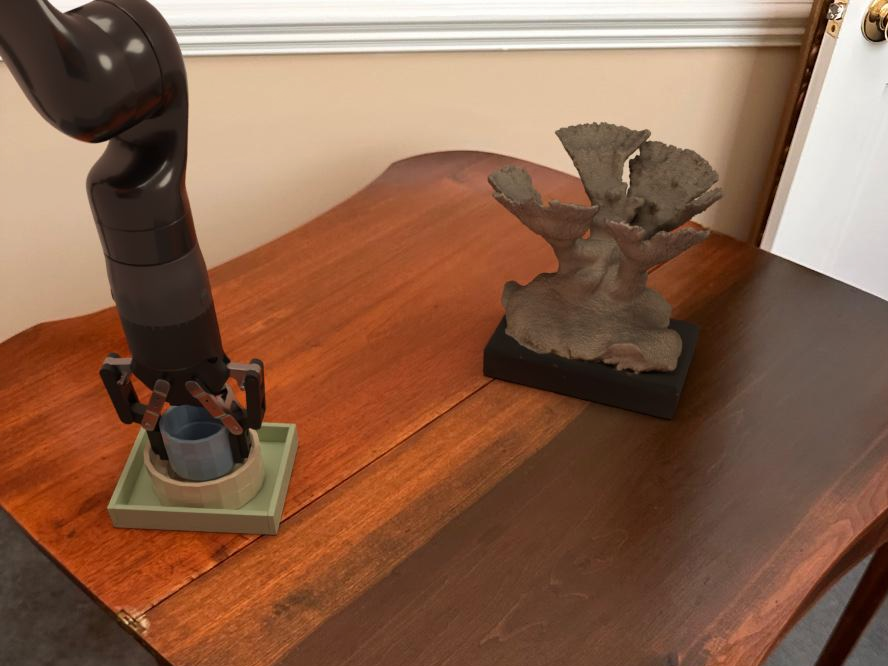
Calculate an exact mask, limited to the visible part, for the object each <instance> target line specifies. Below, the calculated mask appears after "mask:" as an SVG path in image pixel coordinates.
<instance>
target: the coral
mask: <svg viewBox="0 0 888 666" xmlns="http://www.w3.org/2000/svg"><path fill="white" fill-rule="evenodd" d="M554 135H556V137H557V138H558V140H559V141H560V143H561V145H562V146H563V149H564V151H565V152H566V153H567V155H568V156H569V158H570V160H571V161H572V165H573V167H574V168H575V169H576V171H577V174H578V176H579V178H580V181H581V183H582V185H583V189H584V193H585V194H586V196H587V198H588V200H589V202H590V206H587V205H582V204H577V203H573V202H570V203H568V202H564V201H563V202H561V200H559V199H555V198H553V199H549V200H548V203H547V204H548V205H549V206H546V205H545V206H544V203H543V200H542V194H541V192H539V191H538V190H537V189H536V188H535V187H534V185H533V180H532V179H533V178H532V176H531V175H530V174H529V173H528V170H527V169H526V168H525V167H523V168H521V166H520V165H507V166H501V167H500V168H499V169H497V170H494V171H492V172H491V173H490V174H488V175H487V183H488V184H489V185H490V187H492V189H493V192H492V194H491V197H492V198H493V199H494V200H496V201H497V202H498V203H499V204H501V206H502V207H503V208H505V209H506V210H507V211H508V212H509V213H510V214H512V215H514V217H515V218H517V220H519V222H520V223H521V224H522V225H524V226H525V227H527V228H528V230H530V231H531V232H533V233H534V234H535V235H537V236H538V235H539V236H541V238H543V240H545V242H546V243H548V244H549V246H550V247H551V248H552V250H553V253H554V256H555V257H556V258H557V262H558V267H557V271H556V272H541V273H538V274H537V275H536V276H535V277H534V278H533V279H532V280H531V281H529V282H528V283H526V284H525V285H523V284H520V283H519V282H517V281H516V280H513V279H512V280H509V281H505V282H504V284H503V289H502V293H501V298H500V303H501V306H502V307H503V308H504V310H505V312H504V314H503V316H502V317H501V319H500V321H499V322H498V324H497V325H496V328H495V329H494V331H493V333H492V334H491V336H490V337H489V339H488V341H487V342H486V344H485V347H484V348H483V359H482V361H483V363H482V374H483V375H484V376H487V377H491V378H496V379H499V380H504V381H508V382H512V383H516V384H521V385H524V386H528V387H533V388H536V389H537V388H538V389H540V390H545V391H548V392H554V393H558V394H561V395H566V396H570V397H573V398H574V397H575V398H579V399H582V400H587V401H589V402H590V401H591V402H595V403H598V404H599V403H600V404H603V405H607V406H611V407H615V408H620V409H622V410H623V409H624V410H627V411H632V412H637V413H640V414H645V415H648V416H654V417H657V418H662V419H667V420H673V418H674V415H675V412H676V409H677V406H678V403H679V400H680V397H681V394H682V391H683V387H684V385H685V381H686V378H687V375H688V372H689V369H690V367H691V363H692V361H693V357H694V353H695V350H696V346H697V343H698V338H699V335H700V332H701V331H700V330H701V326H700V325H699V324H697V323H696V322H695V323H694V322H689V321H684V320H680V319H675V318H671V315H672V310H673V306H672V304H670V303H669V302H667V300H666V299H665V298H664V297H663V295H662V294H661V292H659V291H657V290H656V289H653V288H652V287H649V286H647V281H648V279H649V272H648V271H649V270H650V269H652V268H654V267H655V266H658V265H661V264H665V263H666V262H668V261H670V260H673V259H675V258H677V257H678V256H679V255H681V254H682V253H683V252H686V251H687V250H689V249H691V248H692V247H694V246H696V245H699V244H701V243H702V242H704V241H705V240H707V238H709V237H710V234H711V230H708V229H707V230H702V229H700V230H696V229H694V227H692V226H688V227H682V226H684V225H685V224H686V223H688V222H689V221H691V220H693V218H694V217H696V216H698V215H700V214H702V213H703V212H706V211H707V209H709V208H710V207H712V206H713V205H714V204H715V203H716V202H718V201H720V200H722V198H723V197H724V196H725V191H724V190H723V188H722V187H718V186H716V187H715V188H713V189H711V188H712V186H713V185H715V184H717V182H719V180H720V178H719V177H720V175H719V172H718V171H717V170H716V169H713V166H712V165H711V164H710V161H708V160H706V159H705V157H702V156H701V155H700V154H698V153H697V152H696V150H693V149H690V148H684V149H683V148H682V147H677V146H676V145H673V144H669V145H668V144H667V143H664V142H663V141H660V140H651V139H649V138H650V137H651V136H652V132H651V130H650V129H648V128H644V129H643V130H642V129H641V130H637V129H630V128H629V127H627V126H624V125H616V124H615V123H612V124H611V123H608V122H606V121H605V122H603V121H601V122H600V123H599V124H598V122H596V121H592V123H589V122H586V123H584V124H581V123H578V124H576V125H573V124H572V125H569V126H567V127H566V126H565V127H560V128H559V129H556V130H555V131H554ZM648 139H649V140H648ZM636 151H639V154H636V155H635V157H634V158H630V157H631V156H632V155H634V153H635V152H636ZM628 159H629V160H628ZM627 160H628V171H629V175H628V178H629V184H628V182H627V181H624V180H623V175H624V167H625V163H626V162H627ZM680 227H682V228H681V229H679V228H680ZM675 230H676V231H675ZM588 231H589V236H588V237H587V238H583V237H584V236H585V235H586V233H587V232H588Z"/></svg>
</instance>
